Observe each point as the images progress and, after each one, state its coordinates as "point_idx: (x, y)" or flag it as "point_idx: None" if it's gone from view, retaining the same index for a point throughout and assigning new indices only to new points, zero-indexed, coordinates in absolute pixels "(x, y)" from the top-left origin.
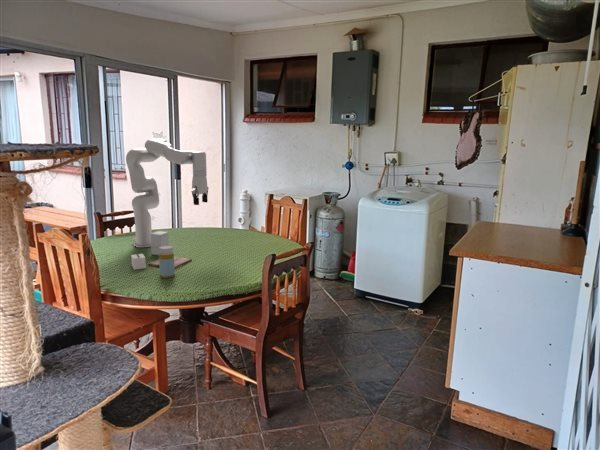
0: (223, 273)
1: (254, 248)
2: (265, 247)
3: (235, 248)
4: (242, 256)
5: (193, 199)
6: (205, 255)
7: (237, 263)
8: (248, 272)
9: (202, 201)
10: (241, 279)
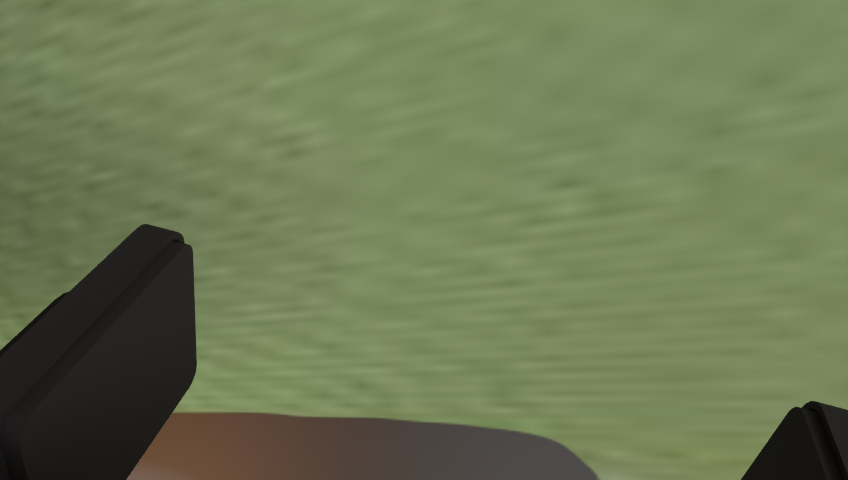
0: None
1: (774, 397)
2: None
3: (790, 256)
4: (517, 328)
5: (13, 350)
6: (512, 22)
7: (337, 310)
8: None
9: (802, 422)
10: None
